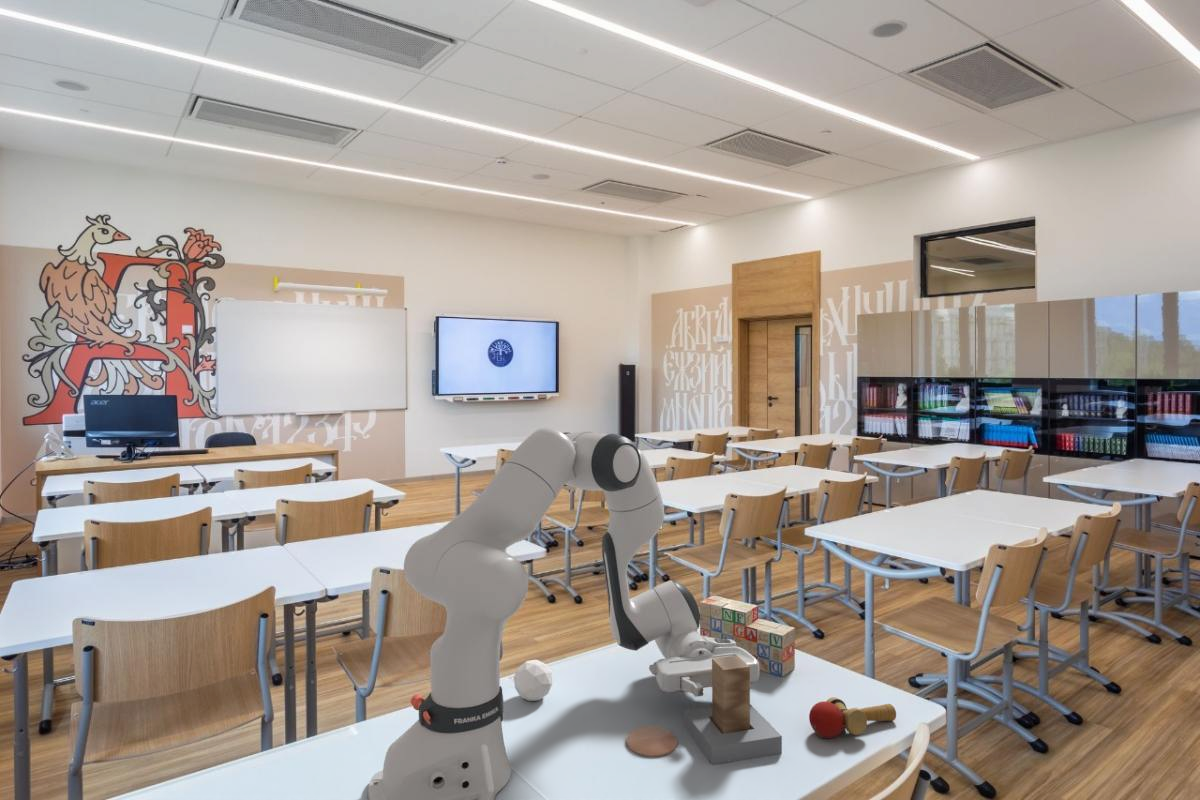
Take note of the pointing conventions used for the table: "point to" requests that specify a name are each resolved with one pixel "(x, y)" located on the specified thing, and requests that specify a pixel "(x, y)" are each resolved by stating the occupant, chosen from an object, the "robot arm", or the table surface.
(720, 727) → the walnut block
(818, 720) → the kendama
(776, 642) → the stack of blocks
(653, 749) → the terracotta coaster
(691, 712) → the pocket holder
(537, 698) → the geometric ball
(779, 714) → the table surface
